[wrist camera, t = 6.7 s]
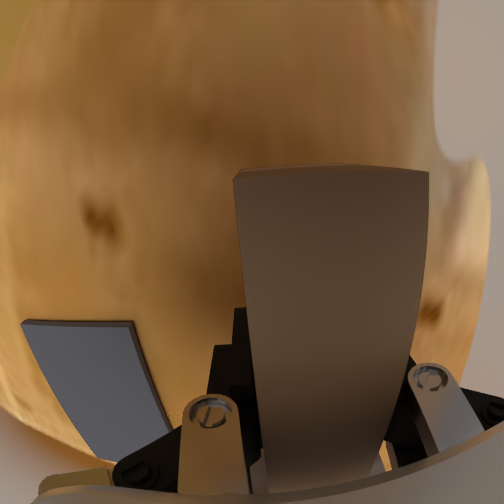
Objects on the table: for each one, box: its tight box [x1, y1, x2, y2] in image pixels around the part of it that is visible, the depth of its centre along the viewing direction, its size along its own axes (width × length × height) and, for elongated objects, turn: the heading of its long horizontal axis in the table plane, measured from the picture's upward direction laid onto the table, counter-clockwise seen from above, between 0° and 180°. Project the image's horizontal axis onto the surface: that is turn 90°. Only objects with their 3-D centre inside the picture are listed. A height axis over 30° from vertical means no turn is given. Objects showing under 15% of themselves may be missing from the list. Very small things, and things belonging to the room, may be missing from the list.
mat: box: [20, 320, 172, 462], centre depth 17 cm, size 15×9×1 cm, turn 5°
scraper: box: [233, 163, 429, 494], centre depth 8 cm, size 13×7×6 cm, turn 5°
